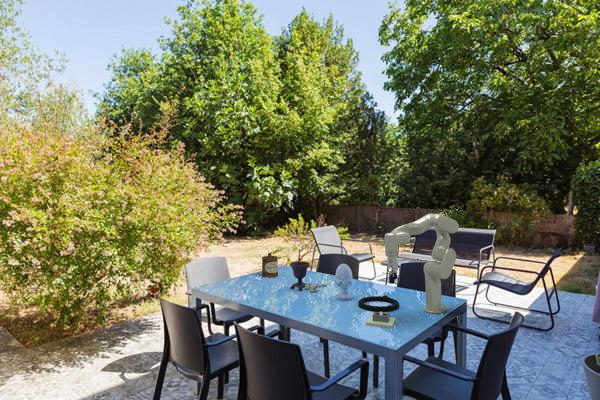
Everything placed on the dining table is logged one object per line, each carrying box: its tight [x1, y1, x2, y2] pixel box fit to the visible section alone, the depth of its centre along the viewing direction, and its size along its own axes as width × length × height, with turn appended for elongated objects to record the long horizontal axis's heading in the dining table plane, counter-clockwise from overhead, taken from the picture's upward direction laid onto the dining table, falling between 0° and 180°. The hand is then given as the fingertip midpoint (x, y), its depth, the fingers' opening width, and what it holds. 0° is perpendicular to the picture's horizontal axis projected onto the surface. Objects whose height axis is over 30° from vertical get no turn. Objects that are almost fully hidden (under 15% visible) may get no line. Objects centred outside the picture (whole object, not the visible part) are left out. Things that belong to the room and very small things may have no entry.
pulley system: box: [304, 283, 328, 293], centre depth 304 cm, size 27×5×15 cm
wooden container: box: [261, 252, 279, 279], centre depth 353 cm, size 15×15×22 cm
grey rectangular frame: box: [372, 311, 391, 323], centre depth 221 cm, size 9×6×4 cm, turn 68°
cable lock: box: [357, 294, 400, 313], centre depth 255 cm, size 28×4×30 cm
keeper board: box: [365, 312, 397, 329], centre depth 221 cm, size 15×14×6 cm
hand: (393, 281), depth 228 cm, fingers open, 9 cm apart
